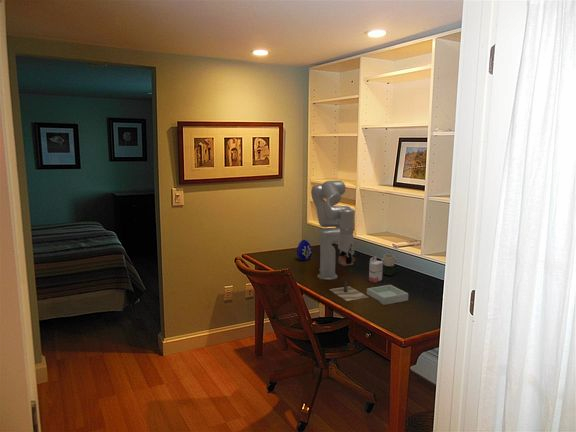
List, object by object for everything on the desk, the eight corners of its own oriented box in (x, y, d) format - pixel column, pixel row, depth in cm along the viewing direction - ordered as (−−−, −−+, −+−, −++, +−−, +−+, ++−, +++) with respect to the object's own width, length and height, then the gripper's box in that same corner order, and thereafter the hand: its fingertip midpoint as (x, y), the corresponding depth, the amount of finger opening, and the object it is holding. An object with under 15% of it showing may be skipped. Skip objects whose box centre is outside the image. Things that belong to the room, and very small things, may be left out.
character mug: (392, 272, 296) (393, 253, 293) (398, 275, 289) (399, 256, 287) (378, 274, 292) (378, 254, 290) (383, 277, 286) (384, 257, 283)
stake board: (328, 291, 261) (328, 280, 260) (349, 287, 266) (349, 277, 265) (346, 302, 243) (347, 291, 242) (368, 298, 248) (369, 287, 247)
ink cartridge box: (375, 283, 275) (376, 259, 272) (368, 281, 278) (369, 258, 275) (382, 279, 281) (383, 256, 279) (375, 278, 284) (376, 255, 282)
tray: (366, 295, 254) (366, 288, 253) (390, 291, 260) (390, 284, 259) (383, 305, 239) (384, 297, 239) (408, 300, 246) (408, 293, 245)
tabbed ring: (338, 262, 256) (338, 256, 255) (351, 261, 260) (351, 254, 259) (343, 265, 251) (344, 258, 250) (356, 264, 254) (357, 257, 253)
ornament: (300, 262, 319) (300, 241, 316) (294, 259, 327) (294, 239, 324) (313, 260, 324) (314, 240, 322) (307, 257, 332) (307, 237, 329)
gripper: (333, 228, 257) (332, 258, 261) (349, 235, 242) (348, 267, 245) (344, 227, 260) (343, 257, 264) (361, 233, 245) (359, 265, 248)
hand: (345, 261), depth 254 cm, fingers closed on tabbed ring, 5 cm apart
